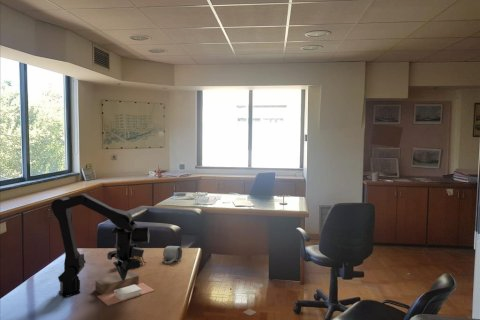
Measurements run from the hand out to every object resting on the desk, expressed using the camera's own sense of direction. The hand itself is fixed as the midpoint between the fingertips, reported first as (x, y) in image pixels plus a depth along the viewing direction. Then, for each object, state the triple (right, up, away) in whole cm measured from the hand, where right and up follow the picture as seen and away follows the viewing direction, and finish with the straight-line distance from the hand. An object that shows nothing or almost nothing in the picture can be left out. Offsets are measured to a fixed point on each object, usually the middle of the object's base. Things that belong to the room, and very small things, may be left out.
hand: (123, 279), depth 143 cm
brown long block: (-4, -5, +4) cm, 7 cm away
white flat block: (+3, -4, -3) cm, 6 cm away
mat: (+2, -5, -2) cm, 6 cm away
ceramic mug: (+13, -4, +38) cm, 41 cm away
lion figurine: (-7, -4, +30) cm, 31 cm away
